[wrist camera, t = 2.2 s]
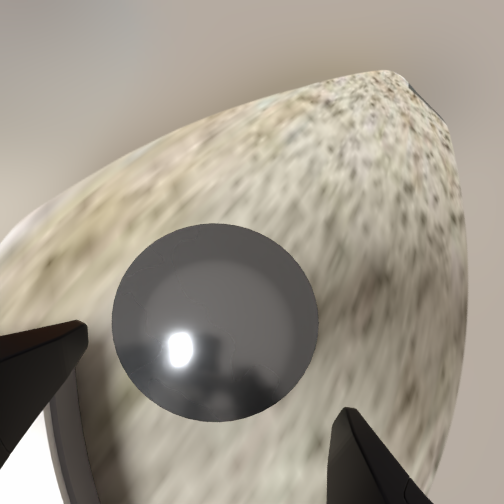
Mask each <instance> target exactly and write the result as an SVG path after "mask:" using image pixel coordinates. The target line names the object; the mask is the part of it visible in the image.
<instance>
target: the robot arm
mask: <svg viewBox="0 0 504 504" xmlns="http://www.w3.org/2000/svg"><path fill="white" fill-rule="evenodd" d="M87 347H88V328H87V325H86V324H85V323H83V322H81V321H79V320H73V321H69V322H64V323H60V324H55V325H51V326H46V327H42V328H37V329H32V330H28V331H23V332H18V333H13V334H8V335H3V336H0V470H1V468H2V467H3V465H4V464H5V462H6V461H7V459H8V458H9V456H10V454H11V453H12V452H13V450H14V449H15V447H16V446H17V445H18V443H19V442H20V440H21V439H22V438H23V436H24V435H25V433H26V432H27V431H28V429H29V428H30V427H31V425H32V424H33V423H34V421H35V420H36V419H37V417H38V416H39V415H40V413H41V412H42V411H43V409H44V408H45V407H46V405H47V404H48V403H49V401H50V400H51V399H52V398H53V396H54V395H55V394H56V392H57V391H58V390H59V389H60V387H61V386H62V385H63V384H64V382H65V381H66V380H67V378H68V377H69V375H70V374H71V372H72V371H73V369H74V368H75V366H76V364H77V363H78V361H79V360H80V358H81V357H82V355H83V353H84V352H85V350H86V349H87ZM327 504H433V503H432V502H431V501H430V500H429V499H428V498H427V497H426V496H425V494H424V493H423V492H422V491H421V490H420V489H419V487H418V486H417V485H416V484H415V483H414V481H413V480H412V479H411V478H409V475H408V474H407V473H406V471H405V470H404V469H403V468H402V466H401V465H400V464H399V463H398V461H397V460H396V459H395V458H394V456H393V455H392V454H391V453H390V451H389V450H388V449H387V447H386V446H385V445H384V444H383V442H382V441H381V440H380V439H379V437H378V436H377V435H376V433H375V432H374V431H373V430H372V428H371V427H370V426H369V424H368V423H367V422H366V421H365V419H364V418H363V417H362V415H361V414H360V413H359V412H358V410H357V409H355V408H350V407H344V408H343V409H342V410H341V412H340V413H339V415H338V416H337V418H336V419H335V421H334V423H333V425H332V431H331V440H330V448H329V456H328V465H327Z"/></svg>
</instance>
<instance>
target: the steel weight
mask: <svg viewBox="0 0 504 504" xmlns="http://www.w3.org/2000/svg"><path fill="white" fill-rule="evenodd" d="M318 324H319V322H318V309H317V304H316V299H315V296H314V293H313V290H312V287H311V285H310V283H309V281H308V279H307V277H306V275H305V273H304V272H303V270H302V269H301V267H300V266H299V264H298V263H297V262H296V261H295V260H294V258H293V257H292V256H291V255H290V254H289V253H288V252H287V251H286V250H284V249H283V248H282V247H281V246H280V245H278V244H277V243H275V242H274V241H273V240H271V239H269V238H268V237H266V236H264V235H262V234H260V233H258V232H255V231H253V230H250V229H247V228H243V227H240V226H235V225H228V224H213V223H212V224H200V225H195V226H189V227H186V228H183V229H179V230H176V231H174V232H172V233H170V234H167V235H165V236H164V237H162V238H160V239H158V240H157V241H155V242H154V243H152V244H151V245H150V246H149V247H147V248H146V249H145V250H144V251H143V252H142V253H141V254H140V255H139V256H138V257H137V258H136V259H135V260H134V262H133V263H132V264H131V265H130V267H129V268H128V270H127V271H126V273H125V275H124V276H123V278H122V280H121V282H120V285H119V287H118V289H117V293H116V296H115V300H114V304H113V311H112V333H113V341H114V344H115V348H116V352H117V355H118V357H119V360H120V362H121V364H122V366H123V368H124V370H125V371H126V373H127V375H128V376H129V378H130V379H131V380H132V382H133V383H134V384H135V385H136V387H137V388H138V389H139V390H140V391H141V392H142V393H143V394H144V395H145V396H146V397H148V398H149V399H150V400H151V401H153V402H154V403H156V404H157V405H159V406H160V407H162V408H164V409H166V410H168V411H170V412H171V413H173V414H176V415H179V416H182V417H185V418H188V419H193V420H198V421H205V422H225V421H234V420H238V419H242V418H246V417H249V416H252V415H255V414H257V413H260V412H262V411H264V410H265V409H267V408H269V407H271V406H272V405H274V404H275V403H277V402H278V401H279V400H281V399H282V398H283V397H285V396H286V395H287V394H288V393H289V392H290V391H291V390H292V389H293V388H294V387H295V386H296V384H297V383H298V381H299V380H300V379H301V377H302V376H303V375H304V373H305V371H306V369H307V367H308V365H309V363H310V361H311V359H312V356H313V353H314V350H315V347H316V342H317V337H318Z"/></svg>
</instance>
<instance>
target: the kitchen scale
mask: <svg viewBox="0 0 504 504" xmlns="http://www.w3.org/2000/svg"><path fill="white" fill-rule="evenodd" d="M0 504H100V501H99V498H98V494H97V491H96V487H95V484H94V480H93V476H92V472H91V468H90V464H89V460H88V455H87V450H86V445H85V440H84V435H83V429H82V423H81V417H80V410H79V402H78V393H77V384H76V372H75V368H74V369H73V371H72V372H71V374H70V375H69V377H68V378H67V380H66V381H65V382H64V384H63V385H62V386H61V387H60V389H59V390H58V391H57V392H56V394H55V395H54V396H53V398H52V399H51V400H50V401H49V403H48V404H47V405H46V407H45V408H44V409H43V411H42V412H41V413H40V415H39V416H38V417H37V419H36V420H35V421H34V423H33V424H32V425H31V427H30V428H29V429H28V431H27V432H26V433H25V435H24V436H23V438H22V439H21V440H20V442H19V443H18V445H17V446H16V447H15V449H14V450H13V452H12V453H11V454H10V456H9V458H8V459H7V461H6V462H5V464H4V465H3V467H2V468H1V470H0Z"/></svg>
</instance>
